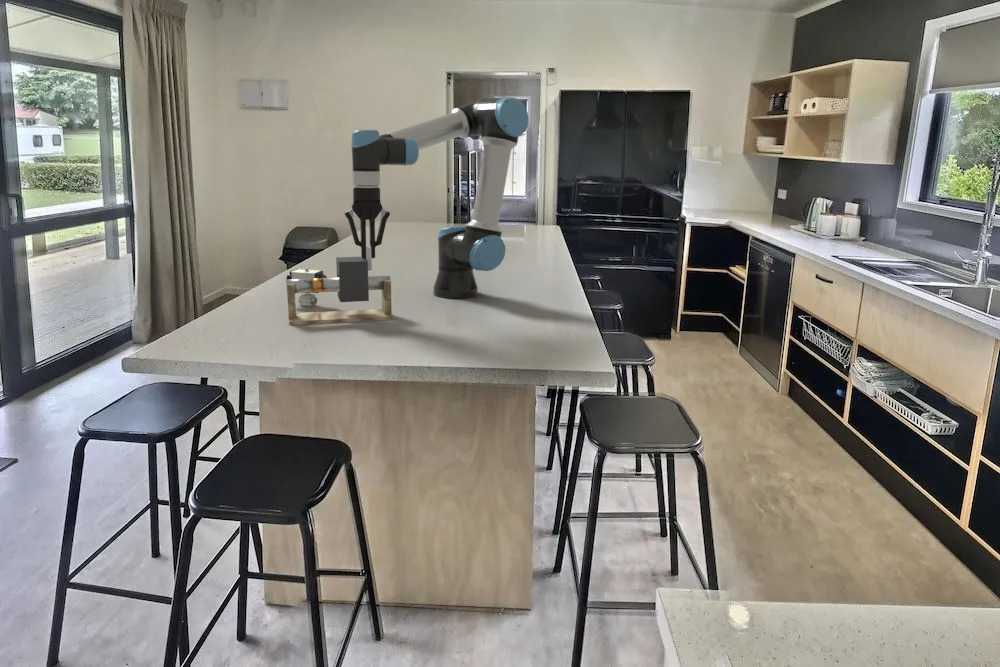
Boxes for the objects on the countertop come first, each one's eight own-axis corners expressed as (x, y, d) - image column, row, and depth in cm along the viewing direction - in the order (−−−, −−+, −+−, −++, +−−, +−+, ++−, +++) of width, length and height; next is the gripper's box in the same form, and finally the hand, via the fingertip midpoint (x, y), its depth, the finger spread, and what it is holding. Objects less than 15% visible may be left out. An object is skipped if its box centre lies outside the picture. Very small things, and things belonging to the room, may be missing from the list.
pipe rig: (387, 311, 217) (386, 276, 214) (393, 319, 208) (392, 282, 205) (288, 316, 208) (286, 279, 206) (289, 325, 199) (287, 286, 196)
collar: (365, 294, 213) (363, 256, 210) (368, 300, 205) (367, 261, 202) (337, 296, 210) (336, 257, 207) (340, 302, 203) (338, 262, 200)
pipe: (388, 287, 212) (388, 274, 211) (390, 290, 208) (390, 277, 207) (287, 291, 204) (286, 278, 202) (287, 294, 200) (286, 280, 199)
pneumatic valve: (322, 308, 219) (320, 269, 216) (287, 306, 222) (285, 267, 219) (330, 304, 225) (328, 266, 222) (295, 302, 227) (293, 264, 224)
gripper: (387, 185, 206) (389, 266, 212) (341, 185, 202) (344, 268, 208) (391, 187, 199) (393, 271, 205) (344, 187, 195) (347, 272, 201)
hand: (368, 269), depth 207 cm, fingers closed
